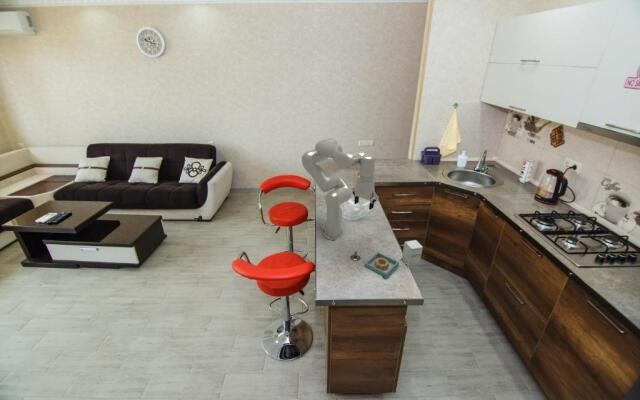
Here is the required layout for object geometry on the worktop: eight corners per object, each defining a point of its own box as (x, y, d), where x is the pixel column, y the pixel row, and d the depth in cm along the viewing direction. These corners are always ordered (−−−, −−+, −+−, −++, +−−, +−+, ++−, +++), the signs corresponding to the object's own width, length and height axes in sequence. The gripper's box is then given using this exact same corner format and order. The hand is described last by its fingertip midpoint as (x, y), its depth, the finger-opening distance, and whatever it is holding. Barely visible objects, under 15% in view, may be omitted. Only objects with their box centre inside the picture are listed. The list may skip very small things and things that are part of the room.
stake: (347, 259, 175) (348, 252, 173) (353, 254, 179) (354, 247, 177) (356, 263, 172) (357, 256, 170) (362, 259, 176) (363, 252, 174)
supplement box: (407, 267, 170) (411, 248, 164) (401, 259, 176) (404, 241, 170) (419, 265, 172) (423, 246, 166) (412, 257, 178) (416, 239, 172)
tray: (364, 267, 169) (364, 263, 168) (377, 256, 178) (377, 251, 177) (385, 279, 161) (386, 274, 160) (398, 266, 170) (399, 262, 169)
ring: (372, 266, 169) (373, 262, 168) (379, 260, 174) (379, 256, 172) (383, 272, 165) (384, 267, 164) (390, 265, 170) (390, 261, 168)
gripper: (348, 175, 164) (347, 203, 172) (376, 184, 154) (373, 213, 162) (356, 171, 169) (354, 198, 177) (384, 179, 159) (380, 208, 167)
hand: (363, 205), depth 170 cm, fingers open, 9 cm apart
